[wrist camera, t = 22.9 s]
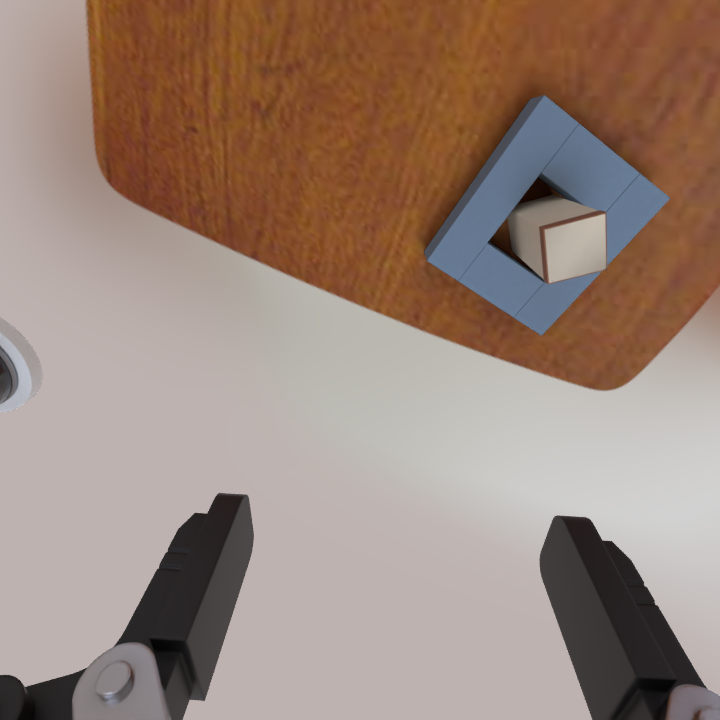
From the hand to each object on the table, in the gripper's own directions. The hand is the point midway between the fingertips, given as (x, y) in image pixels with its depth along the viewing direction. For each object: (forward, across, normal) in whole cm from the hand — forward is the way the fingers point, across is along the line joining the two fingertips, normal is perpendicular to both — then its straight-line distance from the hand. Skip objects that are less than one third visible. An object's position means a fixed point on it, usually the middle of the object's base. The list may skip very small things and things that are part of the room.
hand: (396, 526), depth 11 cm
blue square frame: (+28, -11, -3) cm, 31 cm away
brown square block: (+28, -12, -3) cm, 31 cm away
